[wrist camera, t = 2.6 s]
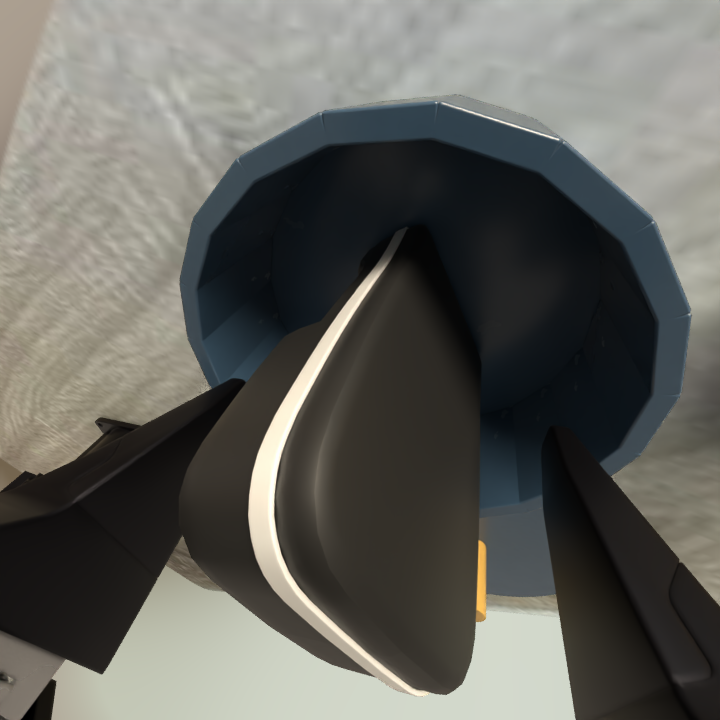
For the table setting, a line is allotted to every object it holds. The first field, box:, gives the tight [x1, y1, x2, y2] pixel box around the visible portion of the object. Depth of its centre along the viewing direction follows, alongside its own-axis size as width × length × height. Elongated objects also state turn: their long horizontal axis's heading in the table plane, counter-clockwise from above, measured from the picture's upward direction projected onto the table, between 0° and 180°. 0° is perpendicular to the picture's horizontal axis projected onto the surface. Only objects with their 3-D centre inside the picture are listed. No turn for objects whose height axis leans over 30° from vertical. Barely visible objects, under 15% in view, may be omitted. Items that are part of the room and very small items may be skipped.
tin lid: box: [476, 508, 556, 622], centre depth 22 cm, size 15×15×5 cm
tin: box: [180, 94, 692, 518], centre depth 13 cm, size 14×14×5 cm
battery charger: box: [179, 224, 482, 697], centre depth 10 cm, size 7×4×11 cm, turn 29°
